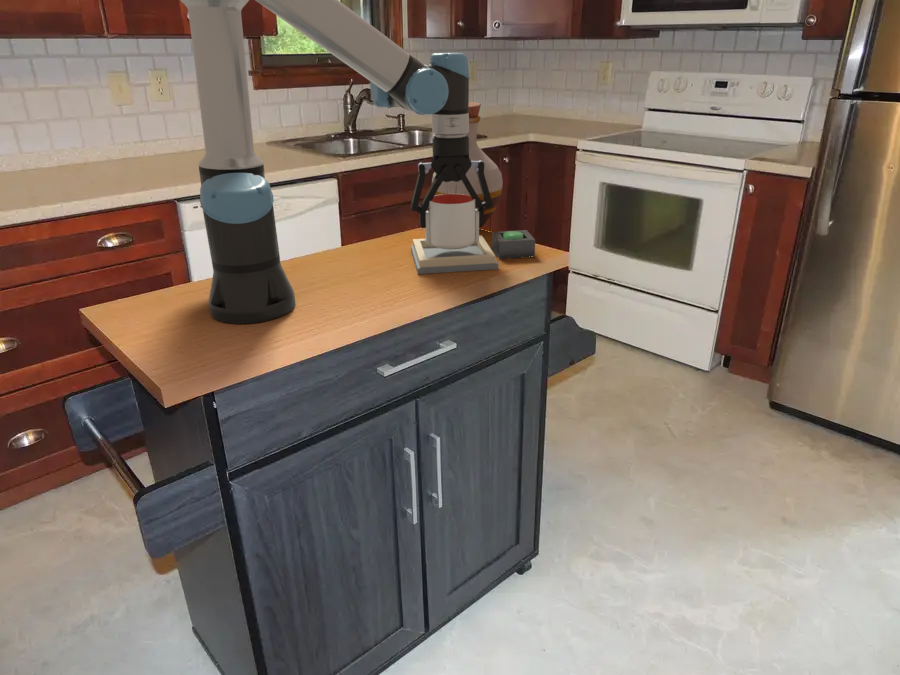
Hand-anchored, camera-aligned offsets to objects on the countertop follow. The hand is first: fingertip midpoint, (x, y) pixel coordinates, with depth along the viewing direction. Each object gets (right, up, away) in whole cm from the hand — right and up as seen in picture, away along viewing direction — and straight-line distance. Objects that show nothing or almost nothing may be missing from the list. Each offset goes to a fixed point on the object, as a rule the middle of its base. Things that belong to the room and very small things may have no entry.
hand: (452, 240), depth 144 cm
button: (+14, -1, +5) cm, 15 cm away
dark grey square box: (+14, -2, +5) cm, 15 cm away
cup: (0, -1, 0) cm, 1 cm away
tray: (0, -4, +2) cm, 4 cm away
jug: (+4, +8, +28) cm, 29 cm away
